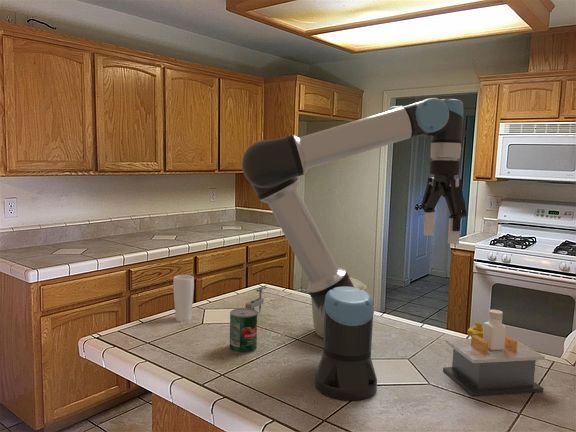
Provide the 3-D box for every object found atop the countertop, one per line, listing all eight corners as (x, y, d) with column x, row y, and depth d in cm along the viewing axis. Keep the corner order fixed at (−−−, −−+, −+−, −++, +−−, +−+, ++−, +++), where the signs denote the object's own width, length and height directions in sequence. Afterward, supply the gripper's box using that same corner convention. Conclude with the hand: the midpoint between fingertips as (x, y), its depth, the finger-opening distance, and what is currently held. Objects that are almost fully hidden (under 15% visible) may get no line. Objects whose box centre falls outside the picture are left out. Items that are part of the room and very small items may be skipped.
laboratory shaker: (472, 396, 113) (475, 350, 112) (442, 371, 127) (445, 330, 125) (543, 391, 116) (547, 347, 115) (507, 367, 130) (510, 327, 129)
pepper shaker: (505, 350, 119) (508, 313, 118) (491, 351, 118) (494, 314, 117) (495, 344, 123) (497, 308, 122) (481, 345, 122) (484, 309, 121)
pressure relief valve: (470, 351, 141) (472, 318, 140) (513, 363, 133) (516, 328, 132) (463, 357, 137) (466, 323, 135) (508, 369, 129) (511, 333, 128)
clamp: (250, 322, 160) (251, 292, 160) (244, 321, 161) (245, 291, 161) (267, 312, 174) (268, 285, 174) (261, 312, 175) (262, 285, 175)
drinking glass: (184, 315, 166) (184, 273, 164) (197, 320, 162) (198, 276, 161) (169, 320, 161) (169, 277, 159) (182, 325, 157) (182, 280, 155)
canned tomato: (234, 342, 143) (235, 306, 142) (259, 345, 141) (260, 309, 140) (225, 352, 135) (226, 315, 134) (252, 355, 134) (253, 317, 132)
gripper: (485, 160, 114) (479, 247, 116) (435, 160, 138) (431, 232, 141) (456, 159, 113) (450, 247, 115) (411, 159, 137) (407, 232, 139)
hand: (440, 239), depth 128 cm, fingers open, 13 cm apart
